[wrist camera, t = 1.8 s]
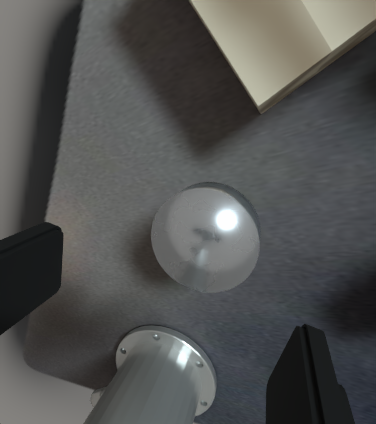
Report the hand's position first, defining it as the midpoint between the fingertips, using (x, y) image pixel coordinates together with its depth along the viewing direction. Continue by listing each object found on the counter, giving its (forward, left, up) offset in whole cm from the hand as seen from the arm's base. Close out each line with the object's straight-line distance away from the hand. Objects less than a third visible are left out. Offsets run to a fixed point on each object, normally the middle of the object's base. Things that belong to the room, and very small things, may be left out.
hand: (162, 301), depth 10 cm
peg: (0, 0, -15) cm, 15 cm away
